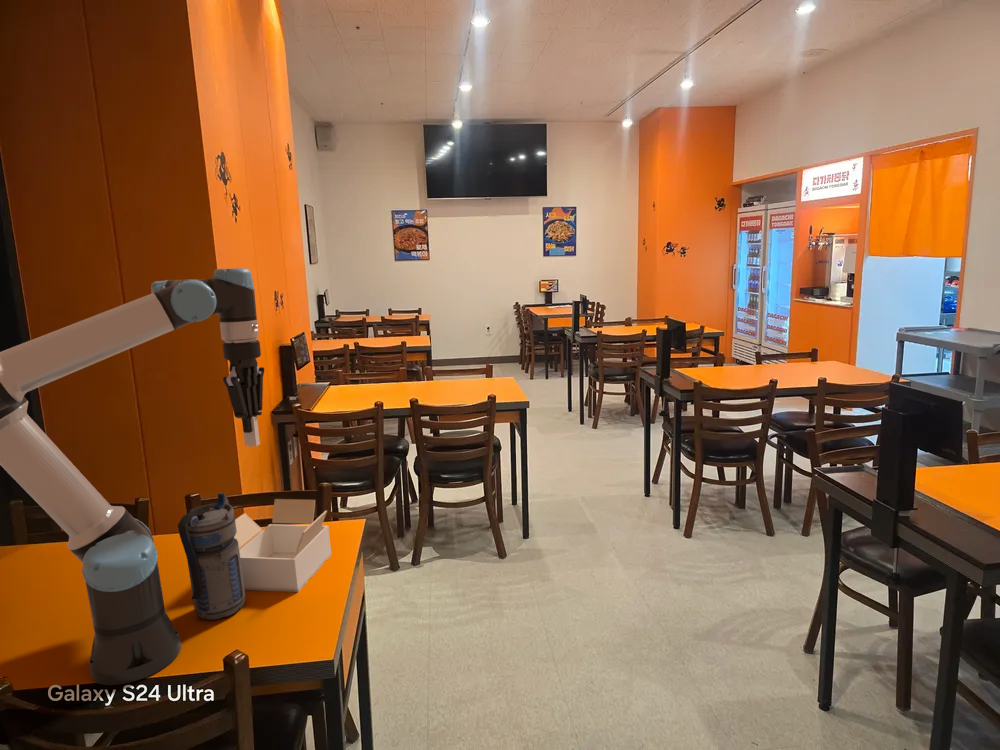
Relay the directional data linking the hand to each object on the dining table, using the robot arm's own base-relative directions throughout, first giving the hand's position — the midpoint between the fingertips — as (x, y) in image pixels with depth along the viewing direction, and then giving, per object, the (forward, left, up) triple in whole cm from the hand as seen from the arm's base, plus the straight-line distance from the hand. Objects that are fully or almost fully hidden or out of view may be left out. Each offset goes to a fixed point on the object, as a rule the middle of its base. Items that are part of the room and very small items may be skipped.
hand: (252, 445), depth 138 cm
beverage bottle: (-11, +6, -34) cm, 37 cm away
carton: (+7, +2, -34) cm, 35 cm away
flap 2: (+5, -9, -23) cm, 25 cm away
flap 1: (+16, +1, -23) cm, 28 cm away
